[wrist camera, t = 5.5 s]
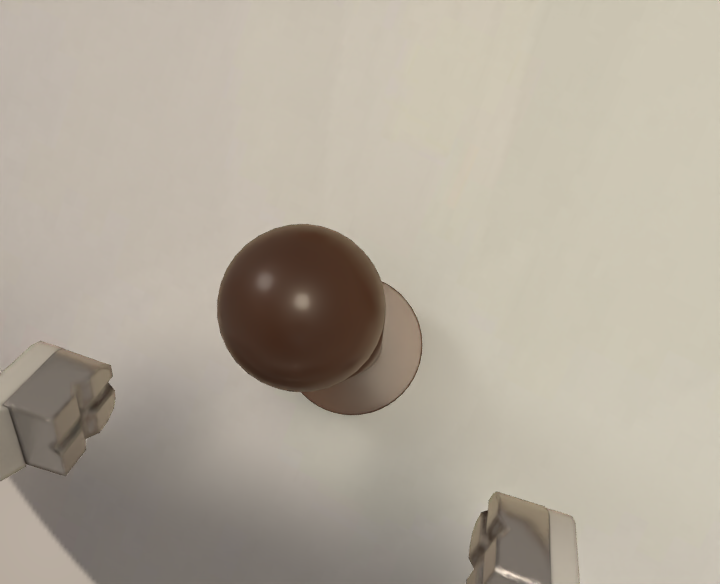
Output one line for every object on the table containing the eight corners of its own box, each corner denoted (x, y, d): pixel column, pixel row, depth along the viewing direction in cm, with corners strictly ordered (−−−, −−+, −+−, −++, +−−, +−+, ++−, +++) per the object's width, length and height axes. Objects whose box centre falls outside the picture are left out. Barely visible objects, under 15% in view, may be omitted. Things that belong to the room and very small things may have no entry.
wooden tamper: (300, 417, 23) (78, 567, 6) (285, 292, 24) (49, 113, 7) (426, 401, 23) (559, 506, 6) (408, 276, 24) (481, 51, 7)
